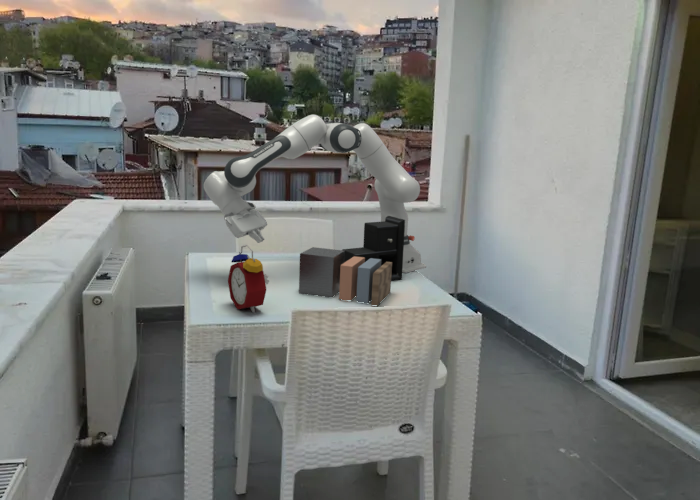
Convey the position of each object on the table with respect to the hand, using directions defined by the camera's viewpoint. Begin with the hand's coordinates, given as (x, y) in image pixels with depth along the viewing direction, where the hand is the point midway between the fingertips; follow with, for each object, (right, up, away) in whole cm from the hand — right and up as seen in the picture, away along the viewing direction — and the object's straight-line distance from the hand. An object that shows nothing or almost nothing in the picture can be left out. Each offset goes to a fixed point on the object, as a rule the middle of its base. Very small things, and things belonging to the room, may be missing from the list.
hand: (261, 241), depth 201 cm
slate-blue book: (+38, -19, -8) cm, 43 cm away
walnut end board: (+42, -20, -10) cm, 47 cm away
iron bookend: (+21, -17, -4) cm, 28 cm away
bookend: (+39, -15, +15) cm, 44 cm away
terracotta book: (+32, -19, -7) cm, 38 cm away
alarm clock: (0, -21, -25) cm, 33 cm away
